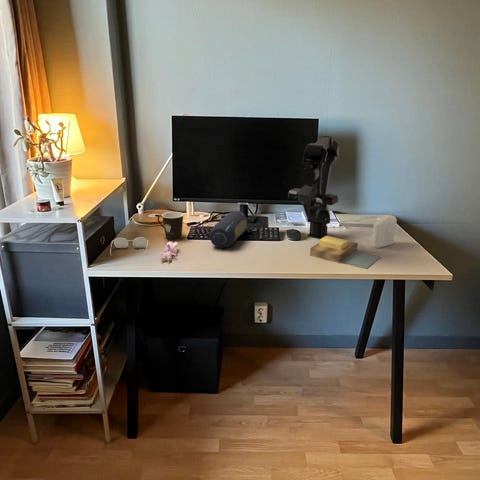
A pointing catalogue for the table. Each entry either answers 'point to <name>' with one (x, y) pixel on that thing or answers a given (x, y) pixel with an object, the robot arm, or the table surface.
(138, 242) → the sunglasses
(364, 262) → the mat
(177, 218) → the coffee mug
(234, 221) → the portable speaker
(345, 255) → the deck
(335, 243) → the pale yellow foam brick
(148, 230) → the table surface
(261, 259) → the table surface
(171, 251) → the rabbit figure
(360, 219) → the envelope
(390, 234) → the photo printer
